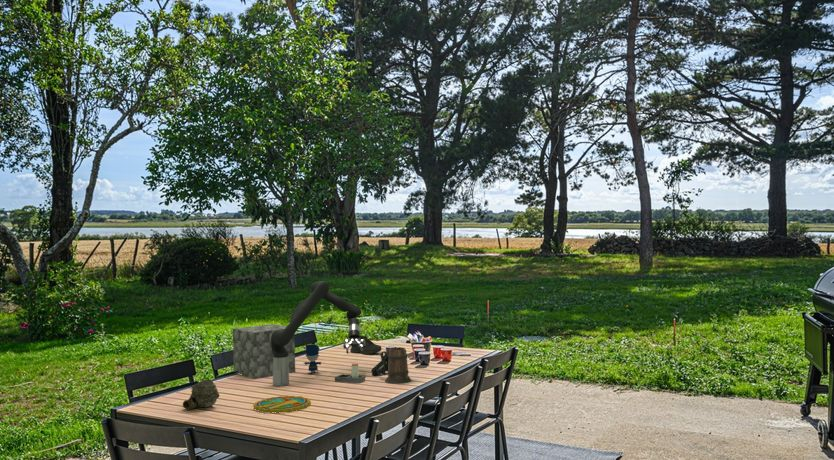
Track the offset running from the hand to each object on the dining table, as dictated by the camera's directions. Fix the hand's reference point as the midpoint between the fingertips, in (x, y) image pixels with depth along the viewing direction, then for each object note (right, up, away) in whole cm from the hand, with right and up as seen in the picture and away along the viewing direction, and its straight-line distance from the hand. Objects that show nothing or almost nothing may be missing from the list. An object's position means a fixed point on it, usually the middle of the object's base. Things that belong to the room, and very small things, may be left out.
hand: (354, 352), depth 420 cm
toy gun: (+21, -16, +10) cm, 28 cm away
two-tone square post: (+2, -16, -12) cm, 20 cm away
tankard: (+25, -15, -11) cm, 32 cm away
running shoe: (0, -17, +89) cm, 91 cm away
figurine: (-30, -17, +17) cm, 38 cm away
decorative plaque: (-32, -16, -68) cm, 77 cm away
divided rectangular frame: (-2, -16, -10) cm, 19 cm away
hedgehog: (-78, -17, -67) cm, 104 cm away
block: (-63, -18, +25) cm, 71 cm away
